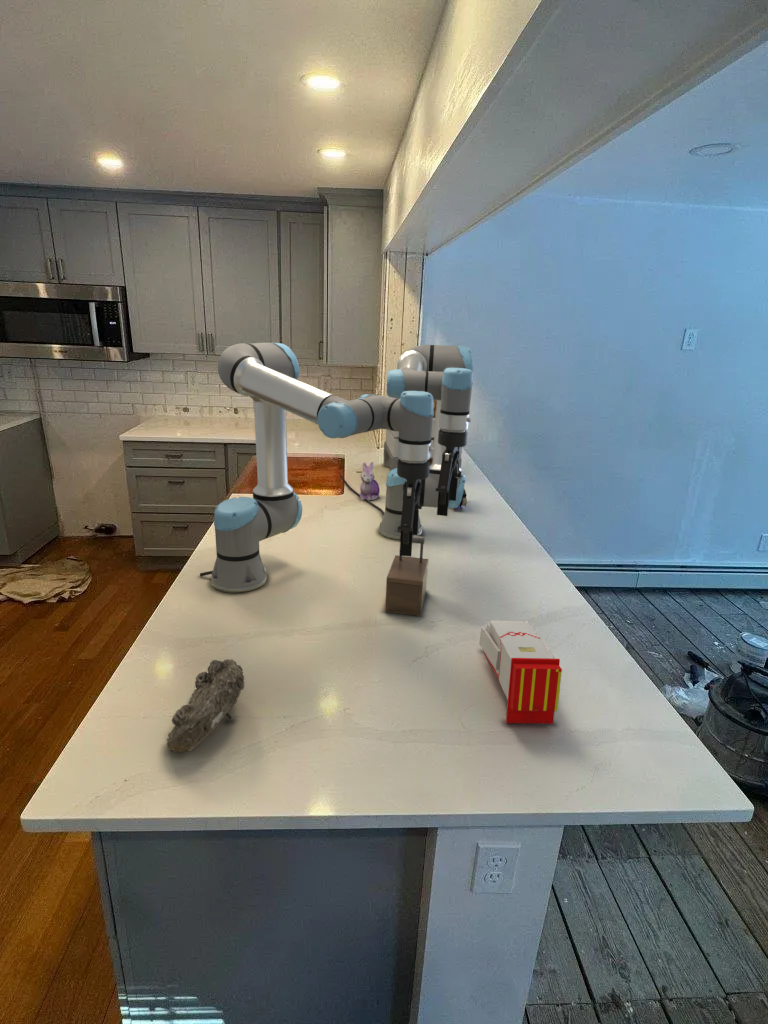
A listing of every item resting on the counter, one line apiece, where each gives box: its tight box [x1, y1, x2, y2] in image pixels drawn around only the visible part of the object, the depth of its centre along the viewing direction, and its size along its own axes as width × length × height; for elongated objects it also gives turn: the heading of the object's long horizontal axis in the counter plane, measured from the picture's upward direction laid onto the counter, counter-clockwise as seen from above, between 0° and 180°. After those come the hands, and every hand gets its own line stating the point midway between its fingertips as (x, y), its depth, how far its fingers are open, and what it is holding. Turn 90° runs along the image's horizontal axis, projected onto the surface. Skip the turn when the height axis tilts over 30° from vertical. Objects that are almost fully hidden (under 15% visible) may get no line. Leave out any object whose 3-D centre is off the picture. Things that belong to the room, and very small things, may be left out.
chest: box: [384, 565, 429, 617], centre depth 153 cm, size 14×9×9 cm
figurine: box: [359, 461, 381, 501], centre depth 233 cm, size 9×10×15 cm
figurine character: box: [452, 488, 468, 511], centre depth 230 cm, size 7×8×15 cm
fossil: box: [166, 658, 245, 754], centre depth 106 cm, size 22×10×15 cm
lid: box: [386, 534, 429, 586], centre depth 150 cm, size 14×9×9 cm, turn 170°
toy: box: [478, 620, 563, 725], centre depth 121 cm, size 12×13×30 cm
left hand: (408, 544), depth 138 cm, fingers open, 13 cm apart
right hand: (446, 507), depth 154 cm, fingers open, 13 cm apart
